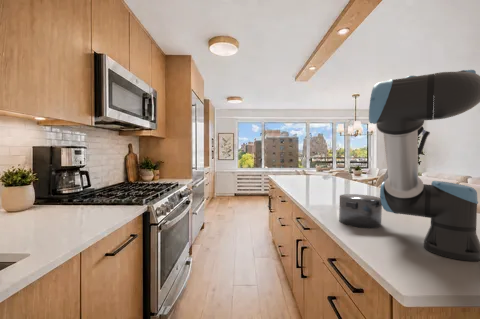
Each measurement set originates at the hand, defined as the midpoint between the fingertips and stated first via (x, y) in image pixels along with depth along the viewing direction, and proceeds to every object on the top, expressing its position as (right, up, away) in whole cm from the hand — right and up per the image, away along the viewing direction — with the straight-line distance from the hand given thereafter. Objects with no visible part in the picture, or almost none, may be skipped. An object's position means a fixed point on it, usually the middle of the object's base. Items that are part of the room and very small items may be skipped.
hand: (409, 171), depth 105 cm
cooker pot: (-16, -25, +11) cm, 32 cm away
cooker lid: (-8, -4, +3) cm, 9 cm away
